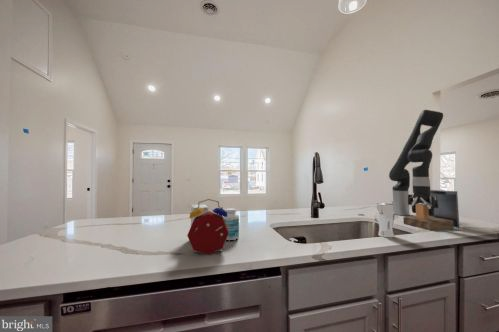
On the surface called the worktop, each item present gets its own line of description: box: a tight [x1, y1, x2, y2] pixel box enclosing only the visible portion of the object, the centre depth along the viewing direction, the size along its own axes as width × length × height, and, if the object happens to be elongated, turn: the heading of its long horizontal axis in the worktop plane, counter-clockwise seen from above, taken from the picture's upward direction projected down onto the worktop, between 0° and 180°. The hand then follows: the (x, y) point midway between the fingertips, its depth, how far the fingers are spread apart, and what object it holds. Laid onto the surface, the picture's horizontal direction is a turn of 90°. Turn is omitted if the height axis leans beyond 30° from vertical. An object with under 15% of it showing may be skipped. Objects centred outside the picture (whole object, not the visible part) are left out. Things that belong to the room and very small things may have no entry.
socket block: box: [403, 215, 455, 231], centre depth 111 cm, size 14×16×4 cm
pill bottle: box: [223, 207, 240, 242], centre depth 91 cm, size 8×7×14 cm
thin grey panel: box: [430, 189, 460, 229], centre depth 113 cm, size 14×8×20 cm, turn 12°
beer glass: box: [376, 202, 395, 239], centre depth 94 cm, size 7×7×15 cm
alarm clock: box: [187, 198, 229, 255], centre depth 74 cm, size 15×9×20 cm, turn 98°
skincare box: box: [190, 203, 209, 226], centre depth 88 cm, size 8×7×16 cm
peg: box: [415, 203, 429, 220], centre depth 110 cm, size 4×4×12 cm
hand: (422, 214), depth 110 cm, fingers open, 8 cm apart
